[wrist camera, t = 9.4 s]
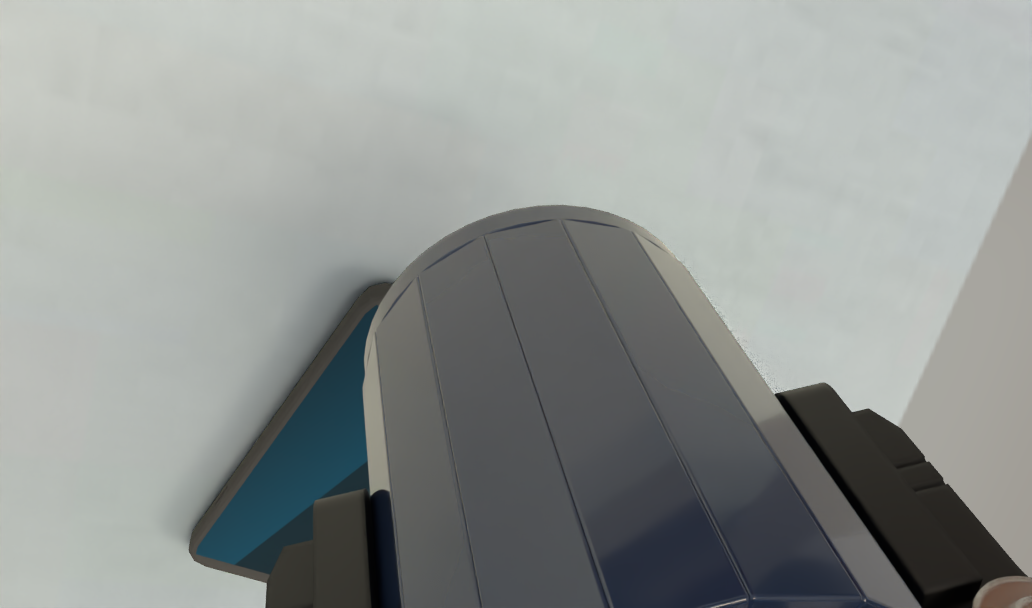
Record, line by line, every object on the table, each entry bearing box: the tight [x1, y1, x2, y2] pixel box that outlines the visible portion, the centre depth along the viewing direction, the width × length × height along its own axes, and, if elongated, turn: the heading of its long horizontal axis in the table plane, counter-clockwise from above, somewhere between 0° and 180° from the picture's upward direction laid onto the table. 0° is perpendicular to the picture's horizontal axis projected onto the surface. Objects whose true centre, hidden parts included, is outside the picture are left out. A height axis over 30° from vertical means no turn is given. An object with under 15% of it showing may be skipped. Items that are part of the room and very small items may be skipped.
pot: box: [362, 205, 922, 608], centre depth 12 cm, size 6×6×8 cm
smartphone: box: [189, 283, 392, 583], centre depth 33 cm, size 8×15×1 cm, turn 143°
